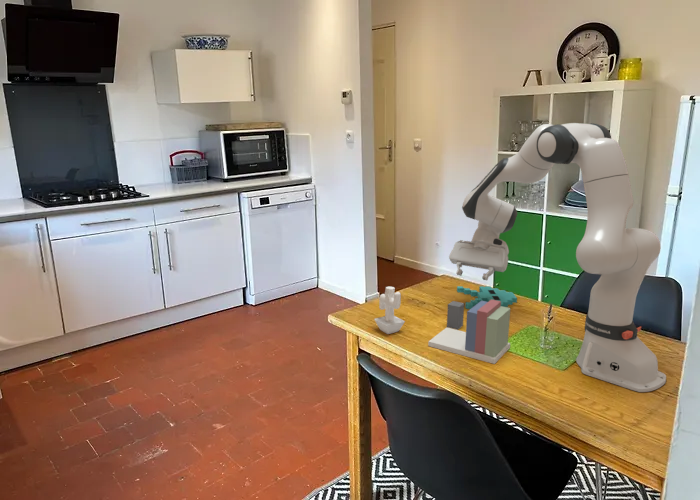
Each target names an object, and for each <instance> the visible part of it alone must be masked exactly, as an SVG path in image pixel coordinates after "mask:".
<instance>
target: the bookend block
mask: <svg viewBox="0 0 700 500" xmlns="http://www.w3.org/2000/svg"><path fill="white" fill-rule="evenodd" d="M464 311H465V302H460V301H456V300H455V301H454V300H452V301H451V302H449V303H448V304H447V314H446V328H451V329H455V330H460V329H461V328H462V327H463V326H464Z"/></svg>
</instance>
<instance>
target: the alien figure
mask: <svg viewBox="0 0 700 500" xmlns="http://www.w3.org/2000/svg"><path fill="white" fill-rule="evenodd" d="M484 286H485V285H484ZM484 286H482V285H481V286H478V287H479V288H478V289H479V291H477V290H476V289H471V288H470V287H464V286H460V285H459V286H458V285H457V286H456V291H457V293H463V294H464V295H470V296H471V297H475V298H474V299H470V300H469V301H466V302H465V303H464V308H465V310H470V309H471V308H473V307H474V306H475V305H476V304H478V303H479V302H480V301H486V302H489V301H490V300H496V301H501V306H502V307H507V308H509V305H510V306H511V305H514V304H515V303H516V304H517V303H518V297H517V296H516V295H515V294H514V293H513V292H512V291H506V290H505V289H499V288H496V287H495V288H494V287H493V286H485V287H484Z"/></svg>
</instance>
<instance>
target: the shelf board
mask: <svg viewBox="0 0 700 500" xmlns="http://www.w3.org/2000/svg"><path fill="white" fill-rule="evenodd" d="M510 319H511V308H510V307H502V306H501V301H496V300H490V301H489V302H486V301H480V302H479V303H478V304H476V305H475V306H474V307H473V308H471V309H468V310H467V312H466V327H465V331H462V330H460V329H458V330H457V329H453V328H449V327H445V328H444V329H443V330H441V331H440V332H439V333H437V334H436V335H435V336H433V337H432V338H431V339H430V340H428V344H427V345H428V347H432V348H435V349H438V350H442V351H446V352H448V353H449V352H450V353H452V354H456V355H460V356H464V357H468V358H471V359H475V360H479V361H482V362H486V363H490V364H492V365H495V364H496V363H497V362H498V361H499V360H500V359H501V358H503V356H504V355H505V354H506V353H507V351H508V350H509V349H510V348H511V342H509V331H510V321H511V320H510Z"/></svg>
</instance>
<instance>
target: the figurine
mask: <svg viewBox="0 0 700 500" xmlns="http://www.w3.org/2000/svg"><path fill="white" fill-rule="evenodd" d="M395 289H396V288H395V287H394V286H385V291H384V293H382V294H380V295H379V302H378V304H379V310H382V311H383V310H385V311H384V315H385V316H384V315H383V316H379V317H375V318H374V319H373V320H374V322H375V323H376V326H377V327H378V328H379V331H381V332H383V333H385V334H387V335H389V334H393V333H398V332H399V331H400V330H401V329H402V327H403V325H404V323H405V322H406V321H405V320H403V319H402V318H399V317H397V316H396V315H395V309H396V310H399V309H400V307H401V304H402V303H401V299H402V298H401V297H402V295H401V292H400V291H396V292H395Z"/></svg>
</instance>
